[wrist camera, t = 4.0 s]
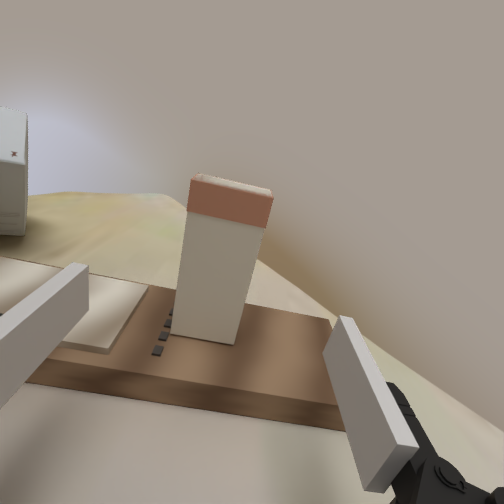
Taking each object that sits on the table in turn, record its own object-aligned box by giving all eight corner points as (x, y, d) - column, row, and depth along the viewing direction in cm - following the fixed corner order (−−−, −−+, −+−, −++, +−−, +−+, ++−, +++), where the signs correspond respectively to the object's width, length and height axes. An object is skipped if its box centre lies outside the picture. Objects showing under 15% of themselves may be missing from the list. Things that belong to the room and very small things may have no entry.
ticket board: (-147, 355, 17) (-165, 316, 16) (-10, 276, 26) (-15, 247, 25) (350, 432, 20) (367, 404, 19) (320, 337, 30) (330, 314, 28)
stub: (169, 333, 21) (191, 179, 17) (177, 313, 24) (198, 172, 19) (234, 345, 22) (273, 198, 17) (236, 324, 24) (271, 189, 19)
